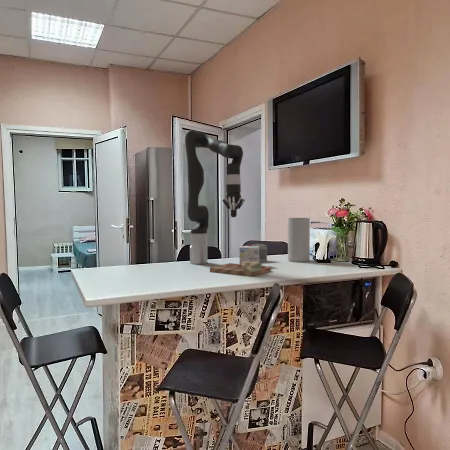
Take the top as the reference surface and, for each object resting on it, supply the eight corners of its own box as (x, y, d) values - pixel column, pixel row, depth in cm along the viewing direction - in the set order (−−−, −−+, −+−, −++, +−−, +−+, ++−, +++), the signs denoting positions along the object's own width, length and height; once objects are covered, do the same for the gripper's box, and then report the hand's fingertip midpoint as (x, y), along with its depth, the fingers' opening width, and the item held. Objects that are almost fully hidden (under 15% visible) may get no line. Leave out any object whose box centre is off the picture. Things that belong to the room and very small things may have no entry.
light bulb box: (259, 265, 220) (259, 245, 219) (259, 267, 213) (259, 247, 213) (240, 265, 221) (239, 245, 220) (239, 267, 214) (239, 247, 214)
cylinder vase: (313, 260, 235) (313, 218, 233) (302, 263, 225) (302, 218, 224) (295, 258, 243) (295, 217, 241) (283, 261, 233) (283, 218, 232)
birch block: (241, 270, 191) (241, 262, 191) (248, 268, 196) (248, 260, 196) (252, 271, 188) (252, 263, 187) (258, 269, 193) (258, 261, 192)
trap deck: (209, 271, 200) (209, 261, 200) (229, 266, 215) (229, 257, 214) (252, 276, 186) (252, 265, 186) (270, 270, 201) (270, 261, 200)
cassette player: (242, 263, 229) (242, 245, 228) (240, 262, 231) (240, 245, 230) (266, 261, 235) (266, 244, 234) (264, 260, 237) (264, 243, 236)
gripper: (218, 184, 207) (219, 217, 208) (240, 183, 199) (240, 217, 200) (226, 184, 213) (227, 216, 214) (248, 183, 205) (248, 217, 206)
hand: (233, 217), depth 207 cm, fingers closed
